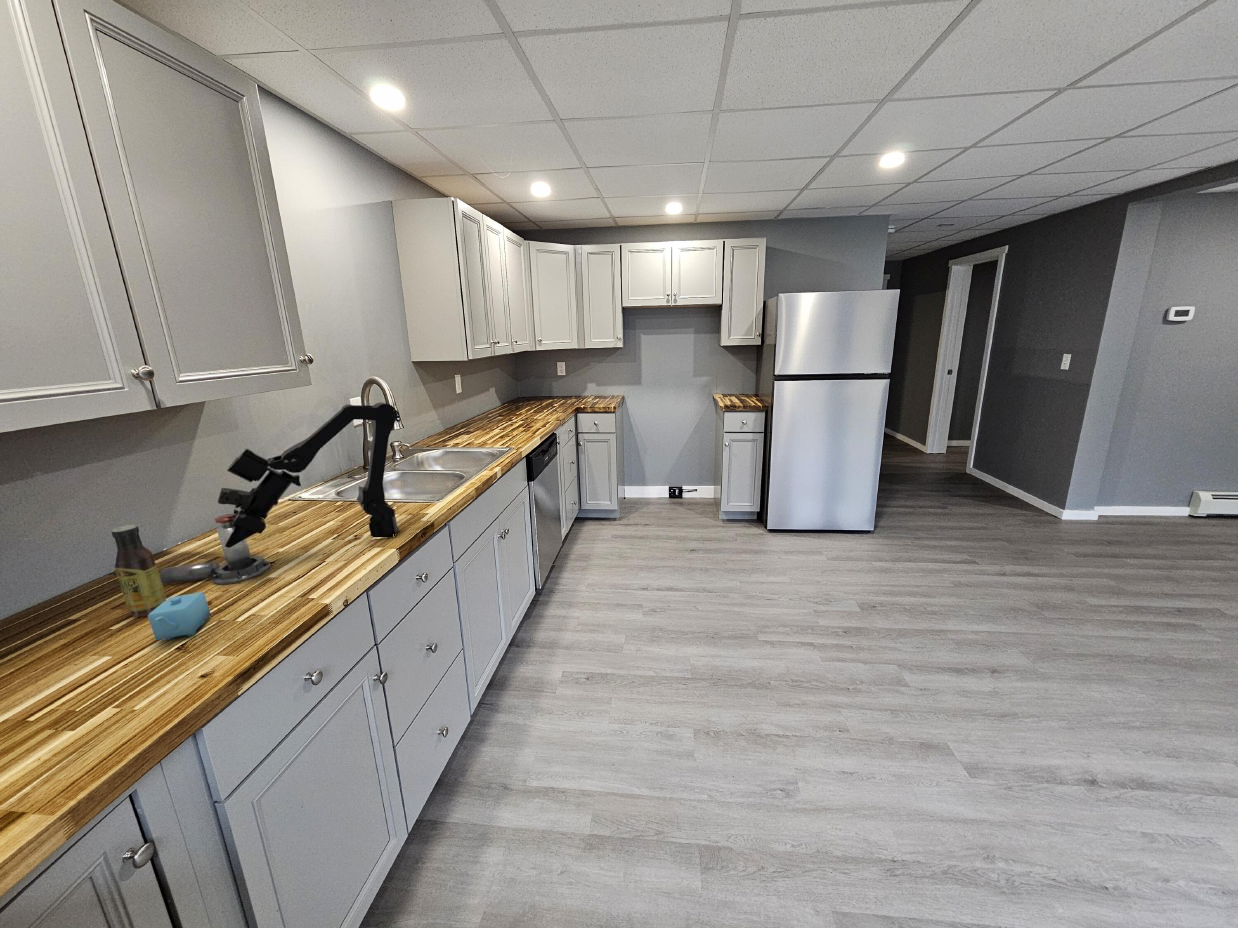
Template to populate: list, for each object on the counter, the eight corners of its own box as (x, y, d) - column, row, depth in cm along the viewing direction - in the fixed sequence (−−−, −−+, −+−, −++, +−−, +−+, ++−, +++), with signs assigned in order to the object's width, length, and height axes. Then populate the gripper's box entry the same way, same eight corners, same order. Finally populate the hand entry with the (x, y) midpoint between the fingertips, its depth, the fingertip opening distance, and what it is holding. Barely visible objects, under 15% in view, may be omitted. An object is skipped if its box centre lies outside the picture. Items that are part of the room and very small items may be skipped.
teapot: (184, 647, 93) (173, 612, 91) (146, 654, 92) (134, 619, 90) (215, 615, 104) (206, 583, 102) (182, 621, 103) (171, 589, 101)
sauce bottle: (123, 616, 106) (93, 532, 101) (157, 602, 112) (130, 521, 107) (143, 620, 104) (113, 534, 99) (176, 604, 110) (149, 523, 105)
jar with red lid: (252, 559, 127) (239, 511, 124) (253, 566, 123) (238, 516, 120) (228, 566, 124) (214, 516, 121) (228, 572, 120) (213, 522, 117)
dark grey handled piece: (279, 560, 131) (275, 546, 130) (256, 580, 119) (252, 565, 118) (183, 572, 127) (179, 558, 126) (150, 594, 115) (145, 579, 114)
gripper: (236, 468, 127) (194, 519, 124) (235, 482, 113) (187, 540, 109) (279, 490, 134) (240, 538, 130) (283, 505, 119) (240, 560, 116)
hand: (227, 543), depth 121 cm, fingers closed on jar with red lid, 5 cm apart
